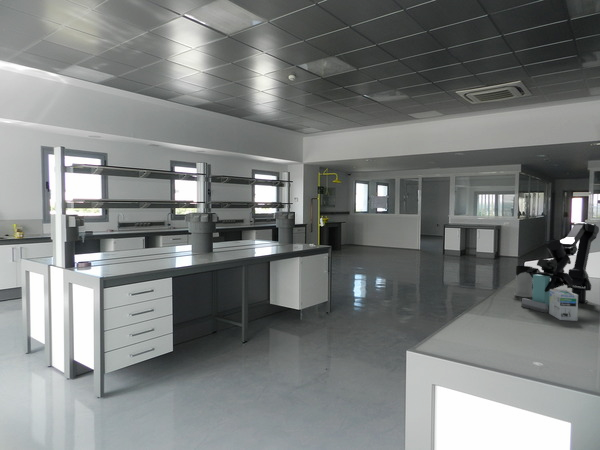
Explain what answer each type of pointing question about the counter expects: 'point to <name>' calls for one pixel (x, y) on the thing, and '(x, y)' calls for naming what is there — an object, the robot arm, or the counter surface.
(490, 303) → the counter surface
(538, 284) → the teal rectangular block
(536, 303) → the floor track
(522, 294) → the glass holder
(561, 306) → the light bulb box
